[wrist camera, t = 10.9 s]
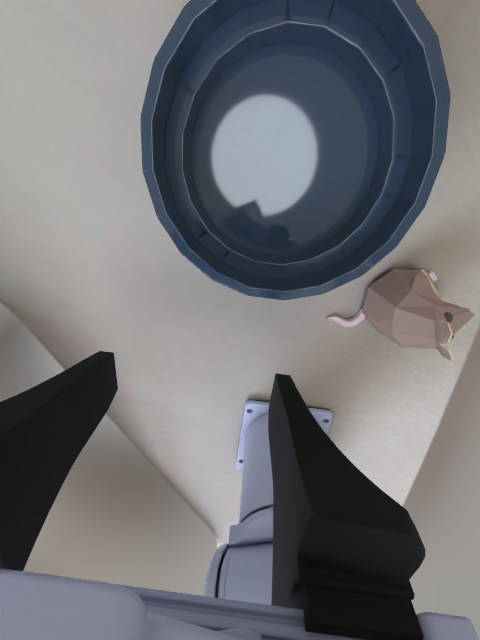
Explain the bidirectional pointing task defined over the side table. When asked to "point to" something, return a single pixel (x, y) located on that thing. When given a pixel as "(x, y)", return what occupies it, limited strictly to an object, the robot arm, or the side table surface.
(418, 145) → the bowl
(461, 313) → the mouse figurine
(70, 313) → the side table surface
